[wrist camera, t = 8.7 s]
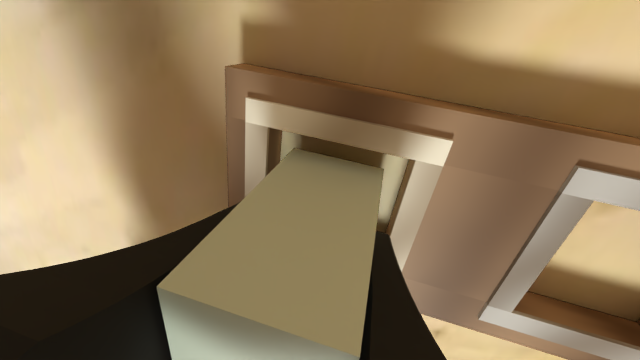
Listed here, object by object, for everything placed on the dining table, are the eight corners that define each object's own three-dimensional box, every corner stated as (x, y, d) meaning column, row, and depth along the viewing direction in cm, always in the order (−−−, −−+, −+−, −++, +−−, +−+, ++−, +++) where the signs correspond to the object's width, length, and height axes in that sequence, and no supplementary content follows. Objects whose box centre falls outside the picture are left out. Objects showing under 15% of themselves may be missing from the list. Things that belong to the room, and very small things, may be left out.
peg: (287, 219, 14) (178, 390, 7) (294, 148, 12) (156, 286, 5) (363, 241, 14) (325, 451, 7) (383, 169, 12) (360, 357, 5)
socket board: (242, 237, 17) (227, 256, 15) (243, 63, 12) (222, 66, 11) (655, 360, 13) (686, 400, 12) (884, 184, 9) (983, 213, 7)
